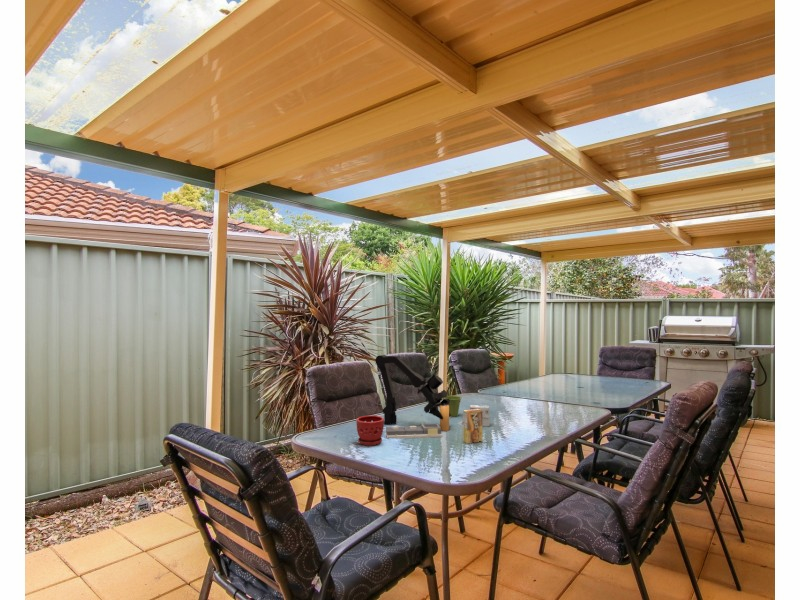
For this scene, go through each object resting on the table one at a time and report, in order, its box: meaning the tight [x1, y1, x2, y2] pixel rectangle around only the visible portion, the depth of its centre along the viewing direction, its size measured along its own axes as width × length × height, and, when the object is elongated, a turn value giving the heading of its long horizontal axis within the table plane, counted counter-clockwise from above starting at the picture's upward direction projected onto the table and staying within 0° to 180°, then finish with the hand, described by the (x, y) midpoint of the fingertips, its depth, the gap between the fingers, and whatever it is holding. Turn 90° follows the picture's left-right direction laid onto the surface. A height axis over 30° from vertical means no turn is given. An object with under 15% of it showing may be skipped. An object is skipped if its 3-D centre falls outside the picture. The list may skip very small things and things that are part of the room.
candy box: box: [462, 409, 483, 444], centre depth 221 cm, size 9×4×15 cm, turn 116°
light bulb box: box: [469, 404, 491, 427], centre depth 255 cm, size 11×7×11 cm, turn 84°
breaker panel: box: [384, 423, 443, 439], centre depth 234 cm, size 28×12×4 cm, turn 96°
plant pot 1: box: [356, 415, 385, 446], centre depth 219 cm, size 13×13×12 cm
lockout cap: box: [439, 405, 450, 432], centre depth 244 cm, size 5×5×13 cm
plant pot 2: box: [442, 395, 462, 418], centre depth 280 cm, size 12×12×11 cm
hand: (446, 417), depth 244 cm, fingers open, 7 cm apart
